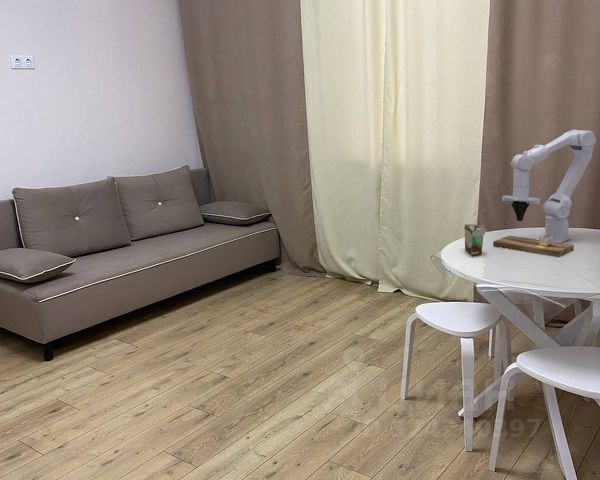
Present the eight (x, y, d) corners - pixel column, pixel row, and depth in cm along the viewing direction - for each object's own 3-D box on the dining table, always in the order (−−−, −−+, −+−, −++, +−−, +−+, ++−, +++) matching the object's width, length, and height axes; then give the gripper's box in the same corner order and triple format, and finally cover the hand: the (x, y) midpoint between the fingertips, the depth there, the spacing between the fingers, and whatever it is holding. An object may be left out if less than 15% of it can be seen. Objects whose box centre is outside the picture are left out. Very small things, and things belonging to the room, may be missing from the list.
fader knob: (544, 242, 226) (545, 234, 225) (552, 243, 223) (553, 235, 223) (539, 244, 223) (539, 237, 222) (547, 245, 221) (547, 238, 220)
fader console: (509, 240, 241) (509, 235, 240) (573, 250, 222) (573, 244, 221) (493, 246, 233) (493, 241, 233) (558, 257, 214) (558, 251, 214)
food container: (489, 256, 219) (489, 230, 217) (472, 257, 220) (472, 231, 217) (480, 248, 231) (480, 223, 229) (464, 249, 232) (464, 224, 229)
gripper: (498, 186, 232) (497, 220, 235) (534, 189, 221) (532, 224, 225) (507, 183, 236) (506, 217, 240) (543, 186, 226) (541, 221, 229)
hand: (519, 220), depth 232 cm, fingers closed
